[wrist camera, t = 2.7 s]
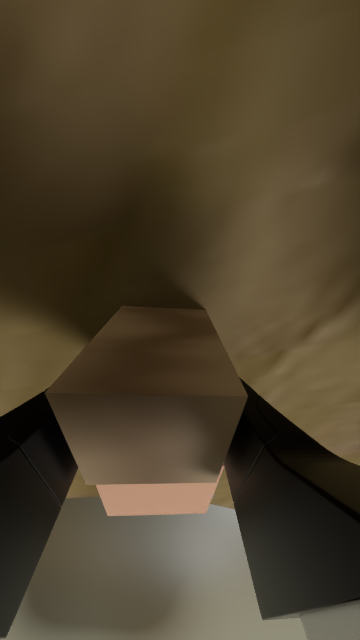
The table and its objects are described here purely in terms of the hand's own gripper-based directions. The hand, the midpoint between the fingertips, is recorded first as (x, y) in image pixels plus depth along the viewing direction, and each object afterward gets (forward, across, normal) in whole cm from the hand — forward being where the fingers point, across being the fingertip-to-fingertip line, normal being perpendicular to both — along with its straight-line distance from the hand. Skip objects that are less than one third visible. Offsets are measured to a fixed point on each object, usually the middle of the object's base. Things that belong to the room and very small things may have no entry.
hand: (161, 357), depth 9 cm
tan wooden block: (+2, 0, 0) cm, 2 cm away
